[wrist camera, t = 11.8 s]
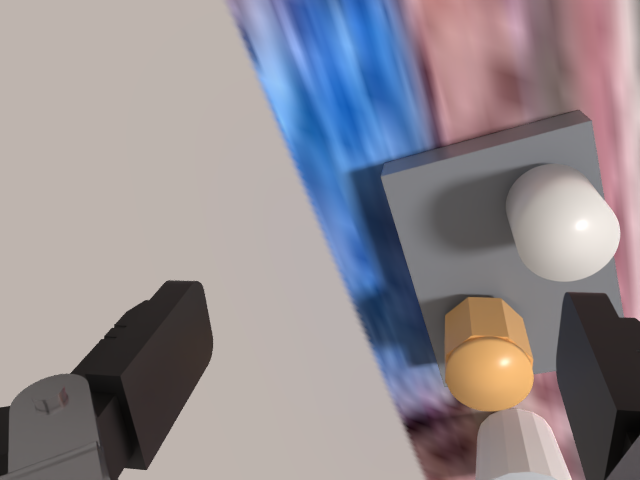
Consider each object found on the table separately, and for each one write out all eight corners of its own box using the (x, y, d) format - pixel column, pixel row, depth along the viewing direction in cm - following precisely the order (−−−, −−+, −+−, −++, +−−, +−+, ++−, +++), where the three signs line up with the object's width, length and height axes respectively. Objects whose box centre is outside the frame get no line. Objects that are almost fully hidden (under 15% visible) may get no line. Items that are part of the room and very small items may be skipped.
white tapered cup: (581, 441, 43) (606, 519, 37) (511, 483, 46) (523, 562, 39) (518, 386, 42) (532, 456, 36) (450, 433, 45) (453, 505, 39)
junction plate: (384, 162, 37) (370, 208, 29) (579, 109, 33) (621, 146, 26) (444, 361, 42) (445, 445, 34) (617, 334, 39) (662, 420, 31)
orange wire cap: (445, 296, 36) (446, 340, 31) (524, 298, 35) (537, 344, 31) (443, 358, 38) (444, 408, 33) (518, 362, 37) (530, 414, 32)
